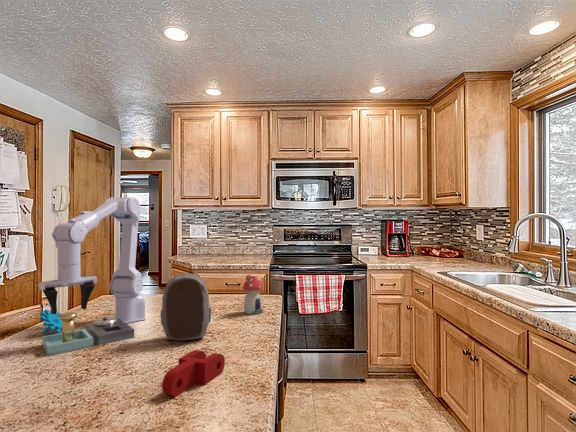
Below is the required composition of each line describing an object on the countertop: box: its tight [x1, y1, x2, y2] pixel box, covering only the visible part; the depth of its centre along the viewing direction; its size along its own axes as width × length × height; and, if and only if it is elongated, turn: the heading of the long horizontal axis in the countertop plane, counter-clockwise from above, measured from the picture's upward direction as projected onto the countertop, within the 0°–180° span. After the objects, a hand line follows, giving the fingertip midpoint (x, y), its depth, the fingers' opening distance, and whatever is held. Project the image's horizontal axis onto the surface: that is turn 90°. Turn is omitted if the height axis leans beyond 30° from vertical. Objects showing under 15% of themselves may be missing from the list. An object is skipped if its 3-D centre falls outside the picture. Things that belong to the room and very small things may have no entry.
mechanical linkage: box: [161, 349, 226, 398], centre depth 82 cm, size 16×7×5 cm, turn 157°
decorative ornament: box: [242, 274, 264, 316], centre depth 141 cm, size 9×6×15 cm
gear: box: [39, 308, 62, 335], centre depth 117 cm, size 11×6×10 cm
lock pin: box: [59, 311, 78, 343], centre depth 105 cm, size 4×4×8 cm
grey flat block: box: [85, 316, 135, 346], centre depth 115 cm, size 10×16×4 cm, turn 41°
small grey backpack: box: [160, 272, 213, 341], centre depth 112 cm, size 15×8×20 cm, turn 99°
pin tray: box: [41, 328, 94, 357], centre depth 105 cm, size 11×11×2 cm
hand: (69, 311), depth 106 cm, fingers open, 7 cm apart
